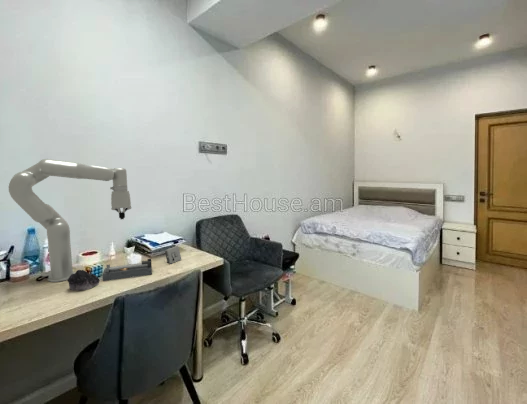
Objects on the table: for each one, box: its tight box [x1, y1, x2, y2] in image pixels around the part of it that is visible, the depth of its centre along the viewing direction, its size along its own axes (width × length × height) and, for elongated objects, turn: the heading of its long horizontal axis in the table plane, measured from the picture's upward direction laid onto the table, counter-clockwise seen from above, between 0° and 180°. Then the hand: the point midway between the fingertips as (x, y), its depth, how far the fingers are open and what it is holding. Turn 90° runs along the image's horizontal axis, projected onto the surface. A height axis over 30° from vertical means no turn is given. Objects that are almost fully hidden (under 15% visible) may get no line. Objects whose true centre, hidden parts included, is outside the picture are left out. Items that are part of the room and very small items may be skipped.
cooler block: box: [102, 258, 153, 282], centre depth 151 cm, size 24×9×7 cm, turn 114°
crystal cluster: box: [67, 269, 100, 291], centre depth 136 cm, size 13×14×10 cm
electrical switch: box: [164, 245, 182, 264], centre depth 174 cm, size 9×5×9 cm, turn 152°
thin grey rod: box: [109, 260, 148, 270], centre depth 151 cm, size 22×3×2 cm, turn 114°
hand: (122, 219), depth 163 cm, fingers closed
